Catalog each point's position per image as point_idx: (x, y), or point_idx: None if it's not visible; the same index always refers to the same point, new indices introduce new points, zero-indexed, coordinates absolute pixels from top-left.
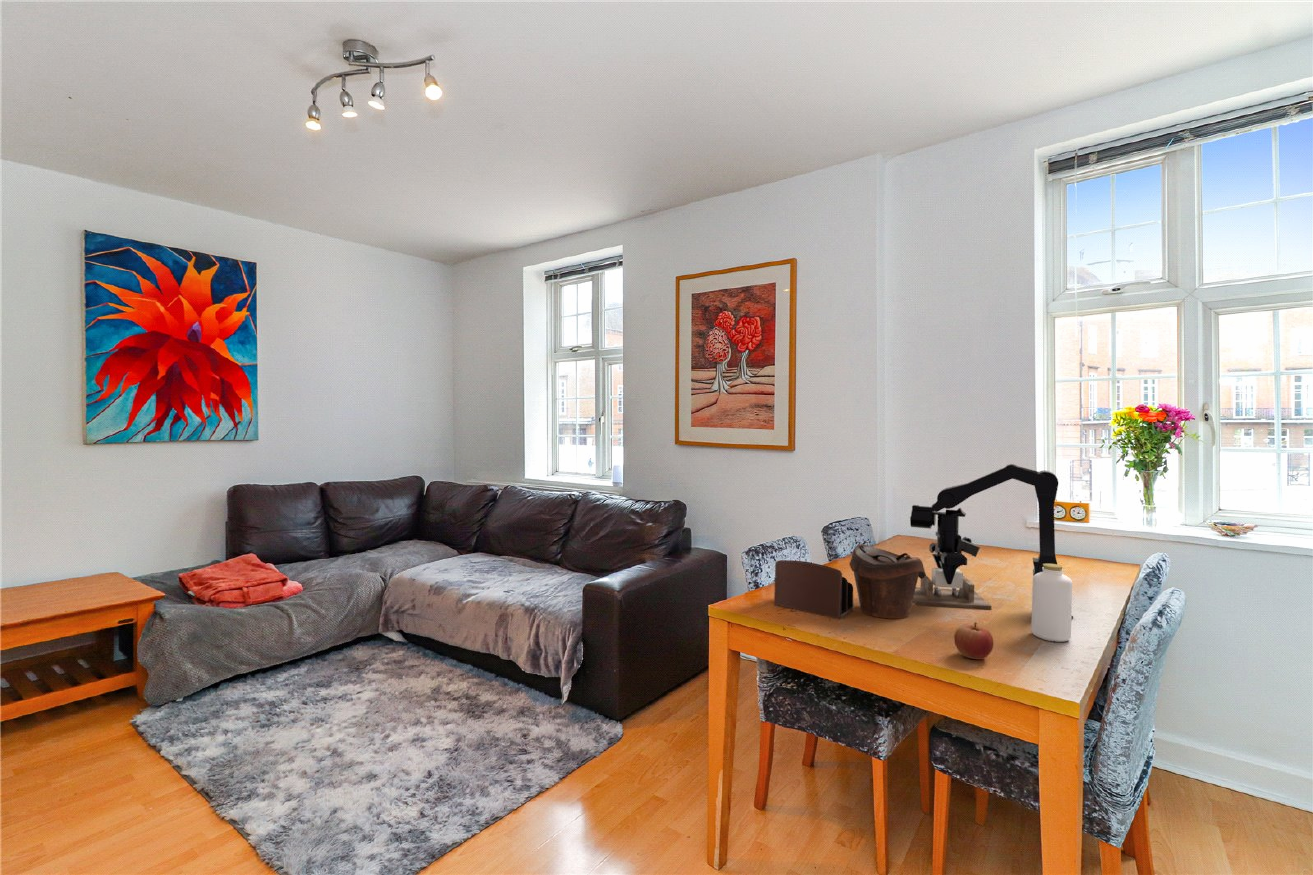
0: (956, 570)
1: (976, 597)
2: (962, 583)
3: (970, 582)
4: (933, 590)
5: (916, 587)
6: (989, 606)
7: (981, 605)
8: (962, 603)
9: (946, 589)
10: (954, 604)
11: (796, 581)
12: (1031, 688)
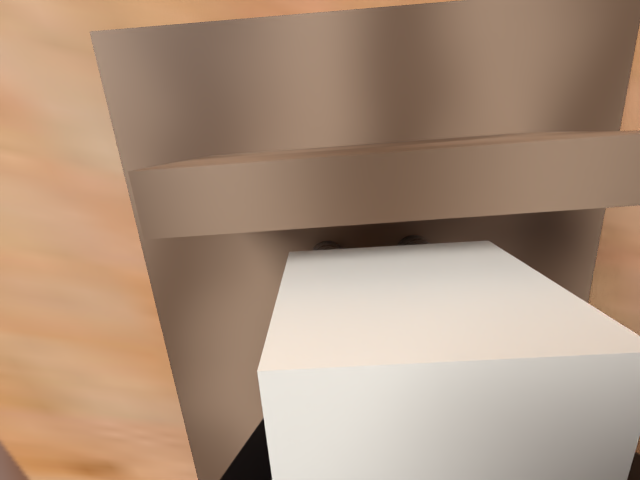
0: (404, 427)
1: (362, 70)
2: (522, 266)
3: (533, 158)
4: (242, 377)
5: (201, 464)
6: (637, 9)
7: (627, 86)
8: (578, 238)
9: (169, 283)
10: (585, 295)
11: None
12: None
